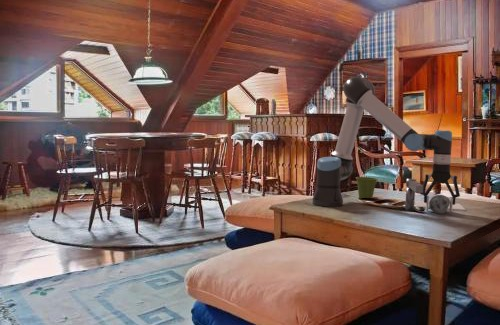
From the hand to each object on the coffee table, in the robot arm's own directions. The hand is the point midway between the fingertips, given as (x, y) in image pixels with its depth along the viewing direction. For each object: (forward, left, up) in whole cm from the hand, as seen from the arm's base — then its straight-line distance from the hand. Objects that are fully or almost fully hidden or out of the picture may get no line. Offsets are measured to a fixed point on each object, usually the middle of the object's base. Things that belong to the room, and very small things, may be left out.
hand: (438, 210), depth 212 cm
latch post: (-13, 0, -1) cm, 13 cm away
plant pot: (-34, +28, -1) cm, 44 cm away
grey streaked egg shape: (0, 0, -1) cm, 1 cm away
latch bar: (-12, -10, +11) cm, 19 cm away
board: (+2, +17, -1) cm, 17 cm away
